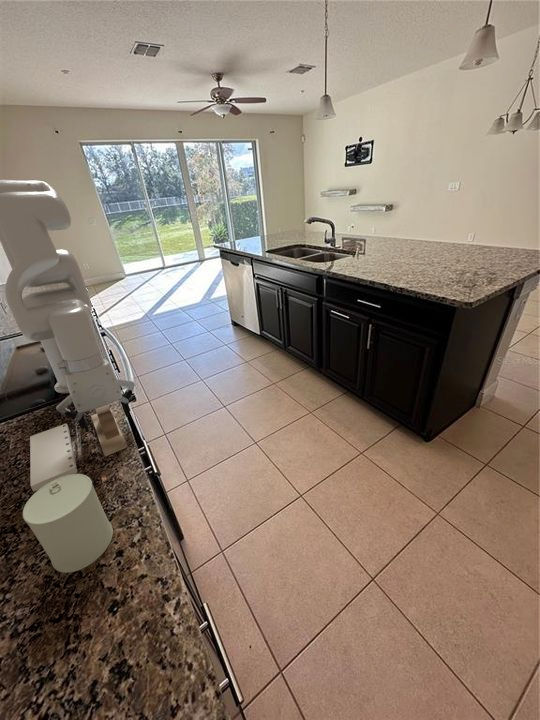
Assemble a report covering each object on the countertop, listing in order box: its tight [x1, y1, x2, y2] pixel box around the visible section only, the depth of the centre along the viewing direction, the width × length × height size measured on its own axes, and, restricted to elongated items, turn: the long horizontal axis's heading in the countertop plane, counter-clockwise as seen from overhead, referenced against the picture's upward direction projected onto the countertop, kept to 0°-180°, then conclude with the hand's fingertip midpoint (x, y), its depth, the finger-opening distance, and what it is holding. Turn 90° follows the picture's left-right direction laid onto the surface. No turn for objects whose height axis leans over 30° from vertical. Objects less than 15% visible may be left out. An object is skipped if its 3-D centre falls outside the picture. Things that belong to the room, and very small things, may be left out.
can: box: [22, 473, 114, 574], centre depth 49 cm, size 9×9×12 cm
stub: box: [90, 404, 128, 457], centre depth 76 cm, size 18×5×6 cm, turn 37°
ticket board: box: [29, 423, 78, 493], centre depth 71 cm, size 20×8×2 cm, turn 37°
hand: (107, 421), depth 76 cm, fingers open, 9 cm apart
